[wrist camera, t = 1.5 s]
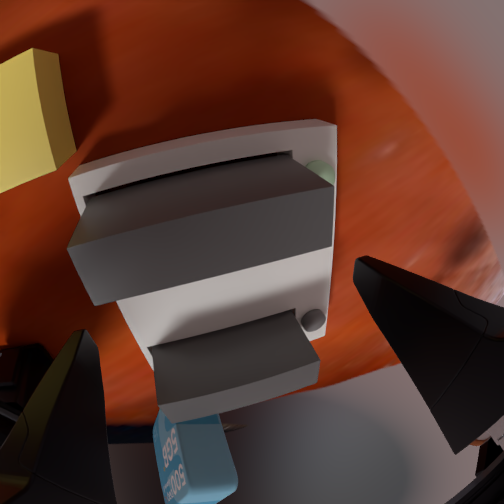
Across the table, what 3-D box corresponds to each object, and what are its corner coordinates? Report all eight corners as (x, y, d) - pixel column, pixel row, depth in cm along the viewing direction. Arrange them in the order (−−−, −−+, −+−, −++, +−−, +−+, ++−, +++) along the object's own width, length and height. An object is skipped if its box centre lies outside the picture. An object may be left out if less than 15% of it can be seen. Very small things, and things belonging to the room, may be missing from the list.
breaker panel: (313, 317, 28) (327, 340, 25) (157, 360, 25) (161, 387, 23) (316, 118, 18) (342, 127, 15) (78, 165, 15) (65, 182, 12)
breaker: (290, 333, 25) (316, 382, 20) (163, 368, 23) (171, 423, 18) (290, 309, 23) (320, 360, 19) (151, 345, 21) (157, 405, 17)
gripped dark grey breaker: (287, 202, 18) (331, 246, 14) (106, 244, 16) (94, 306, 12) (285, 154, 16) (334, 186, 12) (90, 198, 14) (66, 248, 10)
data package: (169, 380, 27) (191, 492, 17) (211, 382, 29) (242, 487, 19) (151, 429, 32) (167, 513, 22) (184, 430, 34) (204, 511, 24)
